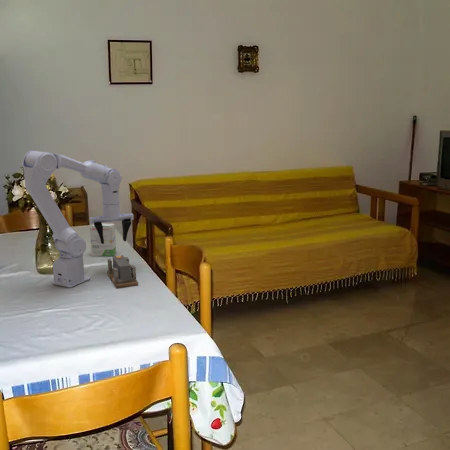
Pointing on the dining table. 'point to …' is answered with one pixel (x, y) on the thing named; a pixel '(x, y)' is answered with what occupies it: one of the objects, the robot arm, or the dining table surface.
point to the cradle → (115, 279)
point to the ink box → (109, 241)
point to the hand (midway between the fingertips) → (113, 241)
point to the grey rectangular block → (122, 267)
